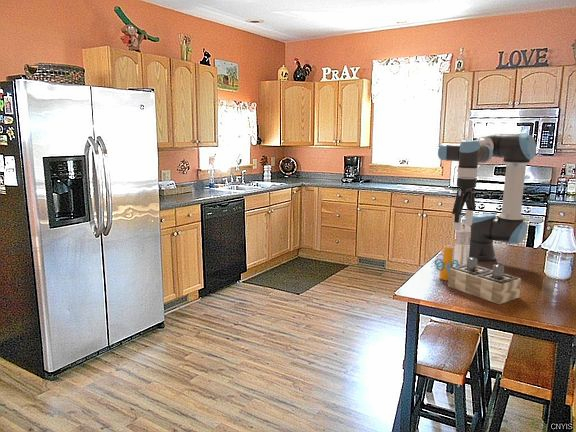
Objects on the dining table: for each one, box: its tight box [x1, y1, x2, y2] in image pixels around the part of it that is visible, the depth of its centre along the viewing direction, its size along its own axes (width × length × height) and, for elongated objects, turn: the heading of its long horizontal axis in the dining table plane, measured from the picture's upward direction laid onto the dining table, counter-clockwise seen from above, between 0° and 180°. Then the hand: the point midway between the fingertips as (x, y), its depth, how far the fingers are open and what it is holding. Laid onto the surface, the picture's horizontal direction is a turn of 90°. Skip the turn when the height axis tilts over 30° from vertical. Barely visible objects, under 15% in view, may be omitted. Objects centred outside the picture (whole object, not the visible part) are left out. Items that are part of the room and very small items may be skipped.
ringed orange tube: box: [434, 245, 460, 281], centre depth 206 cm, size 12×10×15 cm
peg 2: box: [492, 263, 505, 280], centre depth 184 cm, size 4×4×8 cm
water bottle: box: [453, 218, 472, 267], centre depth 218 cm, size 7×7×25 cm
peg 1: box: [466, 257, 479, 272], centre depth 194 cm, size 4×4×8 cm
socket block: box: [447, 264, 522, 305], centre depth 190 cm, size 14×24×8 cm, turn 33°
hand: (462, 227), depth 194 cm, fingers open, 13 cm apart
